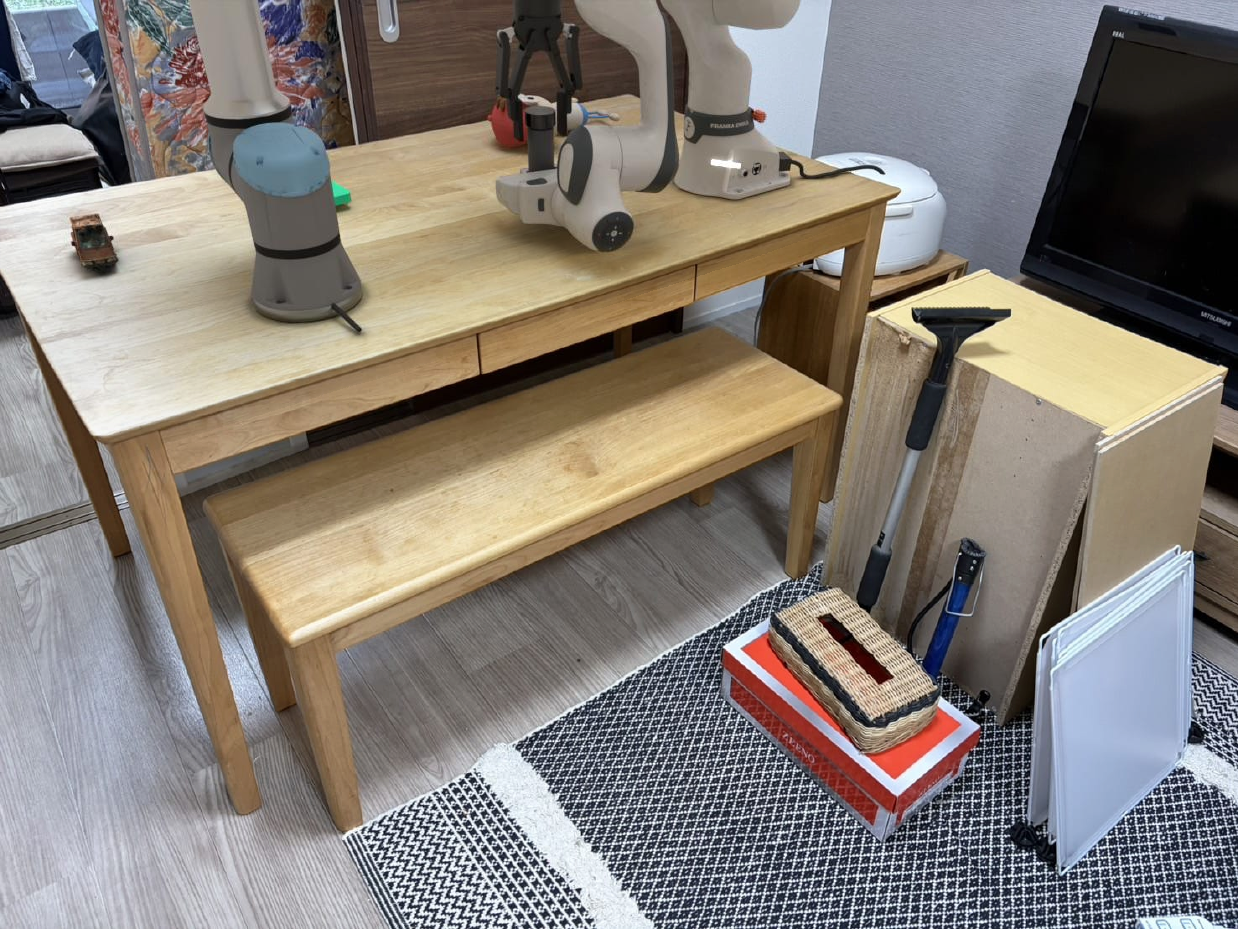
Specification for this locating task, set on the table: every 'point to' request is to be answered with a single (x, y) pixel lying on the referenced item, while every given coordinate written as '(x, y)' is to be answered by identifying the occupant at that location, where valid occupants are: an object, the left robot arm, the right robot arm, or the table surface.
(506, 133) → the toy
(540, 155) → the dark grey cylinder
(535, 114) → the lid
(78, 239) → the toy car
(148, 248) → the table surface
